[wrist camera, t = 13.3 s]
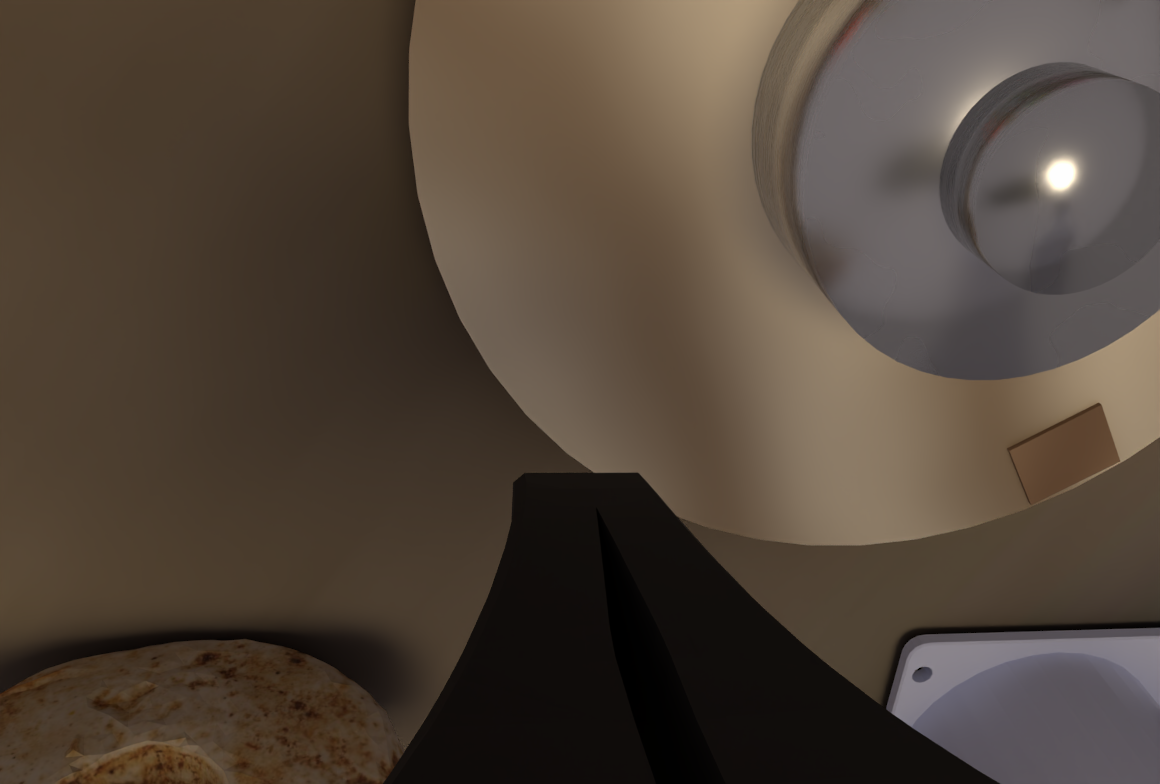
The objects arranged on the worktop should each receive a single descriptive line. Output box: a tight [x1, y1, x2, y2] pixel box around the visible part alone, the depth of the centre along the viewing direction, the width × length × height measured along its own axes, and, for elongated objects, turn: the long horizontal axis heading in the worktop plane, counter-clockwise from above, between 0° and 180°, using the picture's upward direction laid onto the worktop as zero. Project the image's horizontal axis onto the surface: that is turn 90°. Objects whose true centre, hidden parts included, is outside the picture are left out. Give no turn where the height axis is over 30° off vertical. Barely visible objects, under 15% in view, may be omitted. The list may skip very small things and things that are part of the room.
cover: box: [751, 0, 1160, 380], centre depth 16 cm, size 7×7×4 cm
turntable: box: [409, 0, 1160, 545], centre depth 16 cm, size 18×18×5 cm
